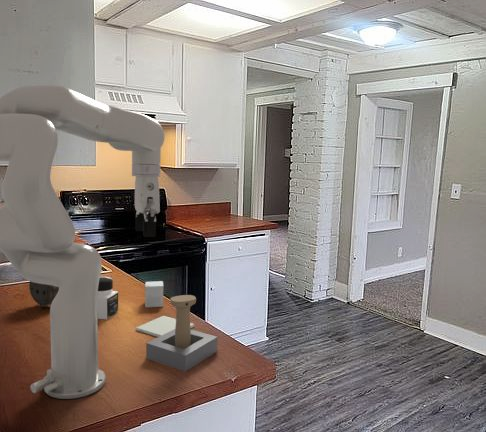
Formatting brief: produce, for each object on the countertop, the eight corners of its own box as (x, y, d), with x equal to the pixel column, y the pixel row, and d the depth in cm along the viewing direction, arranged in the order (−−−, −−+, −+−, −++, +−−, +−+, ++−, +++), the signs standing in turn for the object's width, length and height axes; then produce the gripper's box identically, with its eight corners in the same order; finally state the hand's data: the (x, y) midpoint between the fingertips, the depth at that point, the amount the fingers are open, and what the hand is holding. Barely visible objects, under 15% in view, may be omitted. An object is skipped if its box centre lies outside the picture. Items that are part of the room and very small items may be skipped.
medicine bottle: (107, 320, 136) (107, 282, 135) (86, 317, 138) (85, 280, 136) (118, 312, 143) (118, 276, 142) (98, 310, 145) (97, 274, 143)
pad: (168, 339, 123) (168, 337, 123) (135, 330, 129) (135, 327, 129) (194, 326, 134) (194, 323, 134) (163, 318, 140) (163, 315, 140)
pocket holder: (185, 371, 106) (185, 355, 105) (146, 358, 112) (146, 343, 111) (217, 351, 117) (217, 336, 117) (179, 340, 123) (180, 326, 123)
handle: (167, 353, 115) (167, 297, 113) (190, 348, 118) (191, 294, 116) (174, 361, 111) (174, 302, 109) (197, 356, 114) (199, 299, 112)
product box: (163, 307, 150) (163, 286, 149) (144, 307, 148) (144, 286, 147) (162, 301, 156) (163, 281, 155) (145, 302, 154) (145, 281, 153)
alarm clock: (64, 308, 146) (63, 259, 143) (51, 313, 141) (49, 263, 139) (40, 302, 150) (38, 255, 148) (26, 307, 145) (24, 258, 143)
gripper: (168, 172, 114) (167, 238, 116) (152, 170, 130) (151, 228, 132) (139, 171, 111) (138, 239, 113) (125, 169, 126) (125, 229, 128)
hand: (145, 233), depth 122 cm, fingers open, 9 cm apart
